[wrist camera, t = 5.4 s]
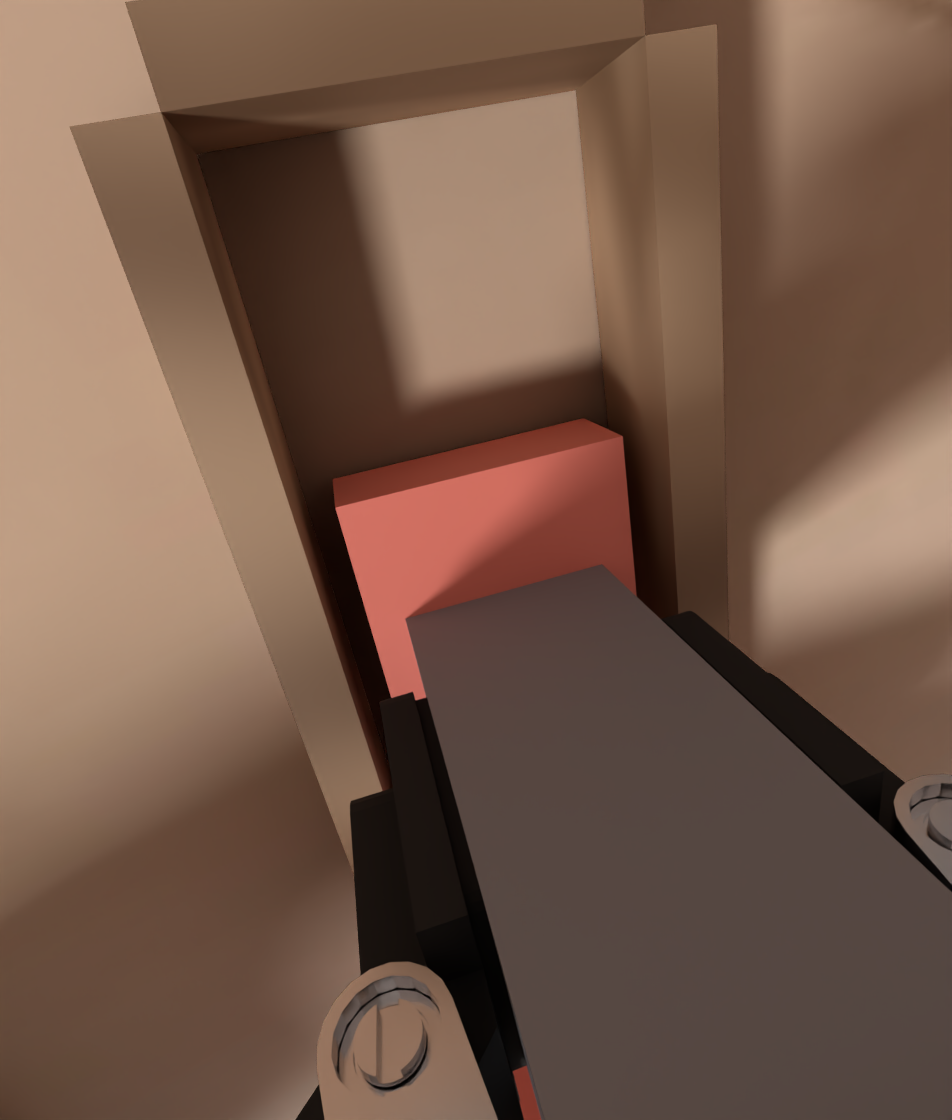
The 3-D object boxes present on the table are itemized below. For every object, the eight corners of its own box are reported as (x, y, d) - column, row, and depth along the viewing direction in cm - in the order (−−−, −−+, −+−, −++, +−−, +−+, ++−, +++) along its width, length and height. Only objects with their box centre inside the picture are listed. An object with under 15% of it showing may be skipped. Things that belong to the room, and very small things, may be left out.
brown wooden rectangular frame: (97, 83, 9) (27, 15, 7) (628, 3, 10) (715, -78, 8) (378, 872, 16) (388, 965, 13) (678, 773, 17) (732, 845, 14)
